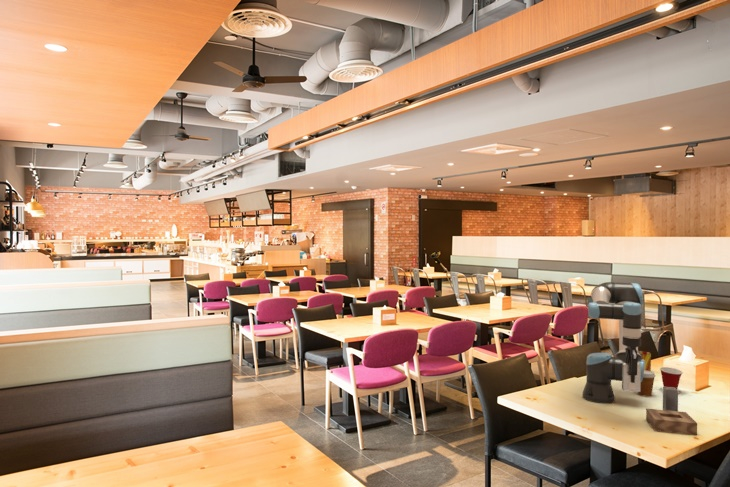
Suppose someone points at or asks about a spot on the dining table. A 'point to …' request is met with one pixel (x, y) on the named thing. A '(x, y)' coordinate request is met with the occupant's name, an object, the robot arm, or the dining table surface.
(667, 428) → the socket block
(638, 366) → the pale grey rectangular block
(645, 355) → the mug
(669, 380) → the plastic cup
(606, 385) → the robot arm
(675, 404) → the square steel bar
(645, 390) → the disposable coffee cup
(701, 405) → the dining table surface
